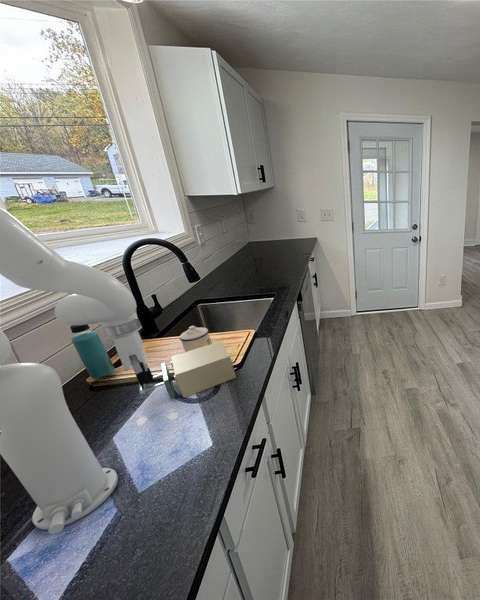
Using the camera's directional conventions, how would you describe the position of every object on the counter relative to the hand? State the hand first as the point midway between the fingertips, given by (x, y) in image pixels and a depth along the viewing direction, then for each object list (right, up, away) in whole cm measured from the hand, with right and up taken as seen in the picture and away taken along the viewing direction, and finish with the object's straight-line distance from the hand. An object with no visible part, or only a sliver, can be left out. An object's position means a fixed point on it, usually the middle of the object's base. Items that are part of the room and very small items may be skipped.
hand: (147, 381), depth 92 cm
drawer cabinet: (+12, -1, +10) cm, 15 cm away
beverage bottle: (-26, -2, +14) cm, 29 cm away
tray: (+6, -2, +6) cm, 9 cm away
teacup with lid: (0, +4, +25) cm, 26 cm away
